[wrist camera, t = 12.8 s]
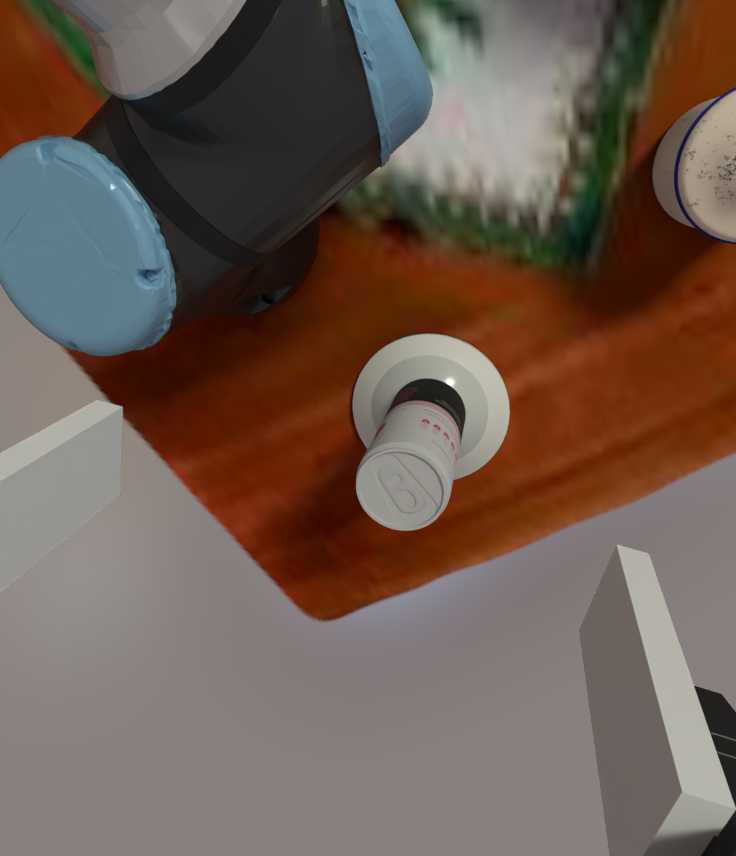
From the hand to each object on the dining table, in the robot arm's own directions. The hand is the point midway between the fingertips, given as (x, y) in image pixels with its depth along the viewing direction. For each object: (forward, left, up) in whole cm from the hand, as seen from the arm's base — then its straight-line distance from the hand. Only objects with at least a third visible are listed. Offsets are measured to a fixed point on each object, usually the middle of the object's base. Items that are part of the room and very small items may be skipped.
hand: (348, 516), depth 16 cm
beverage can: (0, -12, -38) cm, 40 cm away
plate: (0, -12, -39) cm, 41 cm away
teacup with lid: (+16, +13, -39) cm, 44 cm away
